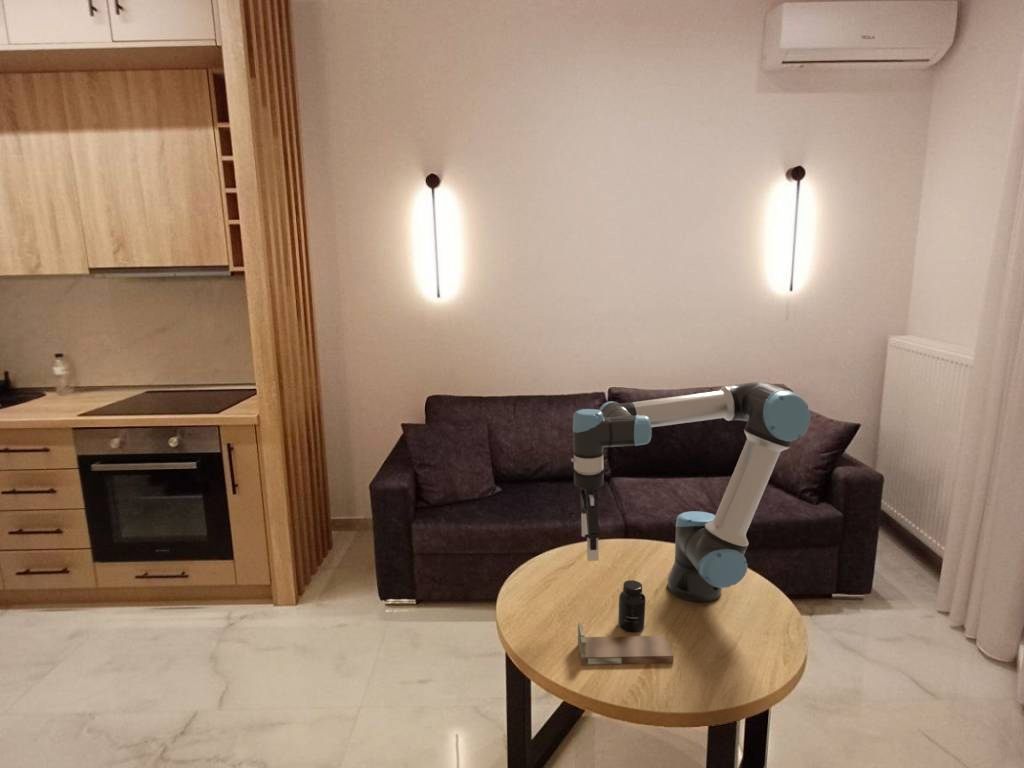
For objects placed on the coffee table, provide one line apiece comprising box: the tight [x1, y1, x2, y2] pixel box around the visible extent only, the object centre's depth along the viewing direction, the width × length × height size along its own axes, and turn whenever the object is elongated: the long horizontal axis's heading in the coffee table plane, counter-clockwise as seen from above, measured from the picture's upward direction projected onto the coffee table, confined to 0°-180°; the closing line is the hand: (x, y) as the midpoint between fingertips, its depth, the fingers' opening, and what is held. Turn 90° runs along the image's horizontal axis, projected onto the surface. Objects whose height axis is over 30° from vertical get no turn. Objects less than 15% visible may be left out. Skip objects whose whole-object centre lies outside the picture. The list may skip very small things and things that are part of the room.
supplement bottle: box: [617, 579, 646, 634], centre depth 161 cm, size 7×7×12 cm
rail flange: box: [577, 622, 674, 666], centre depth 150 cm, size 22×8×6 cm, turn 90°
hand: (589, 547), depth 160 cm, fingers open, 13 cm apart
